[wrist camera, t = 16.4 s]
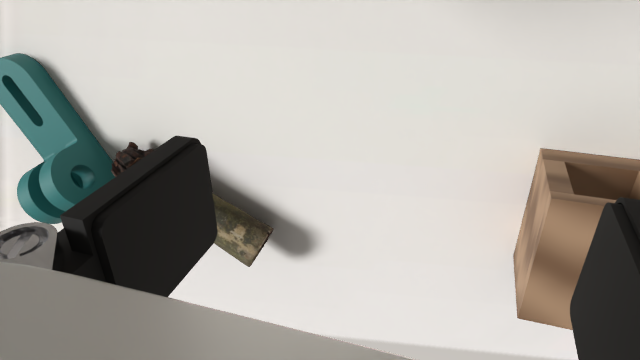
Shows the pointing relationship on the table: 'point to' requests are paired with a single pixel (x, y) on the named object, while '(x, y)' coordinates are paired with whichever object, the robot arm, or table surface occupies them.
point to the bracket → (51, 141)
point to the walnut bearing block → (564, 227)
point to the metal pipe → (232, 223)
